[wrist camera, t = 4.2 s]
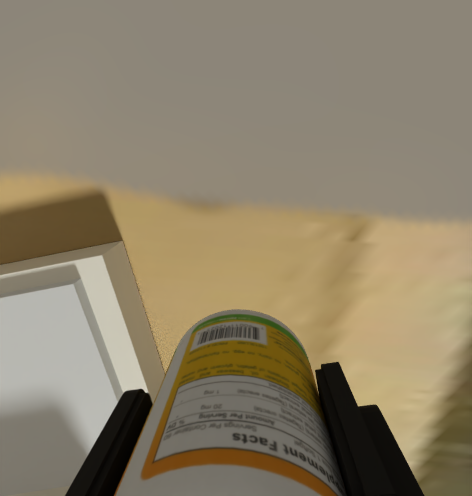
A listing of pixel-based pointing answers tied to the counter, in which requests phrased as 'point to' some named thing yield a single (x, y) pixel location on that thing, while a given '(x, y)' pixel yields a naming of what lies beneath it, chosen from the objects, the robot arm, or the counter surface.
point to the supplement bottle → (235, 417)
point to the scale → (67, 361)
